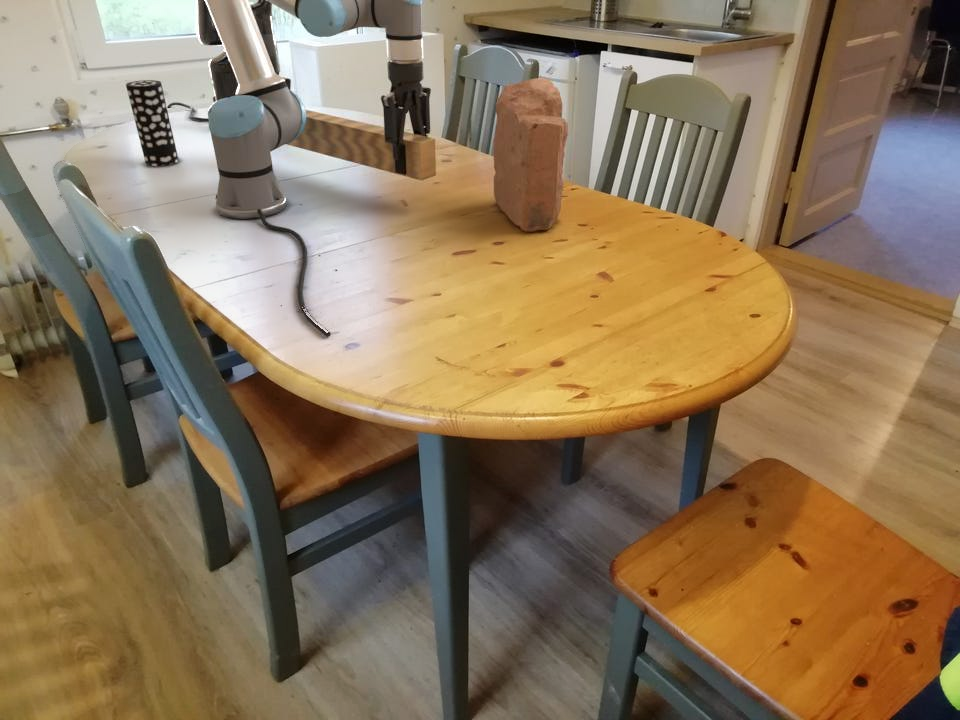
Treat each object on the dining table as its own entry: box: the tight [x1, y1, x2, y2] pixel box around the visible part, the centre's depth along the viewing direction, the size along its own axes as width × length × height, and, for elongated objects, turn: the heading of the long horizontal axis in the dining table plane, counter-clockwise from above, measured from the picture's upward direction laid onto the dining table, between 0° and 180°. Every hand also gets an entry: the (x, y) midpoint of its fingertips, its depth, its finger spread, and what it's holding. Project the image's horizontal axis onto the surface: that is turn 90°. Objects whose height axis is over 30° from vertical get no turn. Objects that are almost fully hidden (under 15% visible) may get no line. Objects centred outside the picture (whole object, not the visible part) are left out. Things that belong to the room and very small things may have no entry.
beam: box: [286, 109, 437, 181], centre depth 167 cm, size 59×5×8 cm, turn 53°
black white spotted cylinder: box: [125, 79, 179, 167], centre depth 181 cm, size 8×8×20 cm
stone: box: [493, 77, 569, 232], centre depth 148 cm, size 22×11×28 cm, turn 18°
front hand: (409, 170), depth 157 cm, fingers closed on beam, 5 cm apart
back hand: (272, 123), depth 179 cm, fingers closed on beam, 5 cm apart
